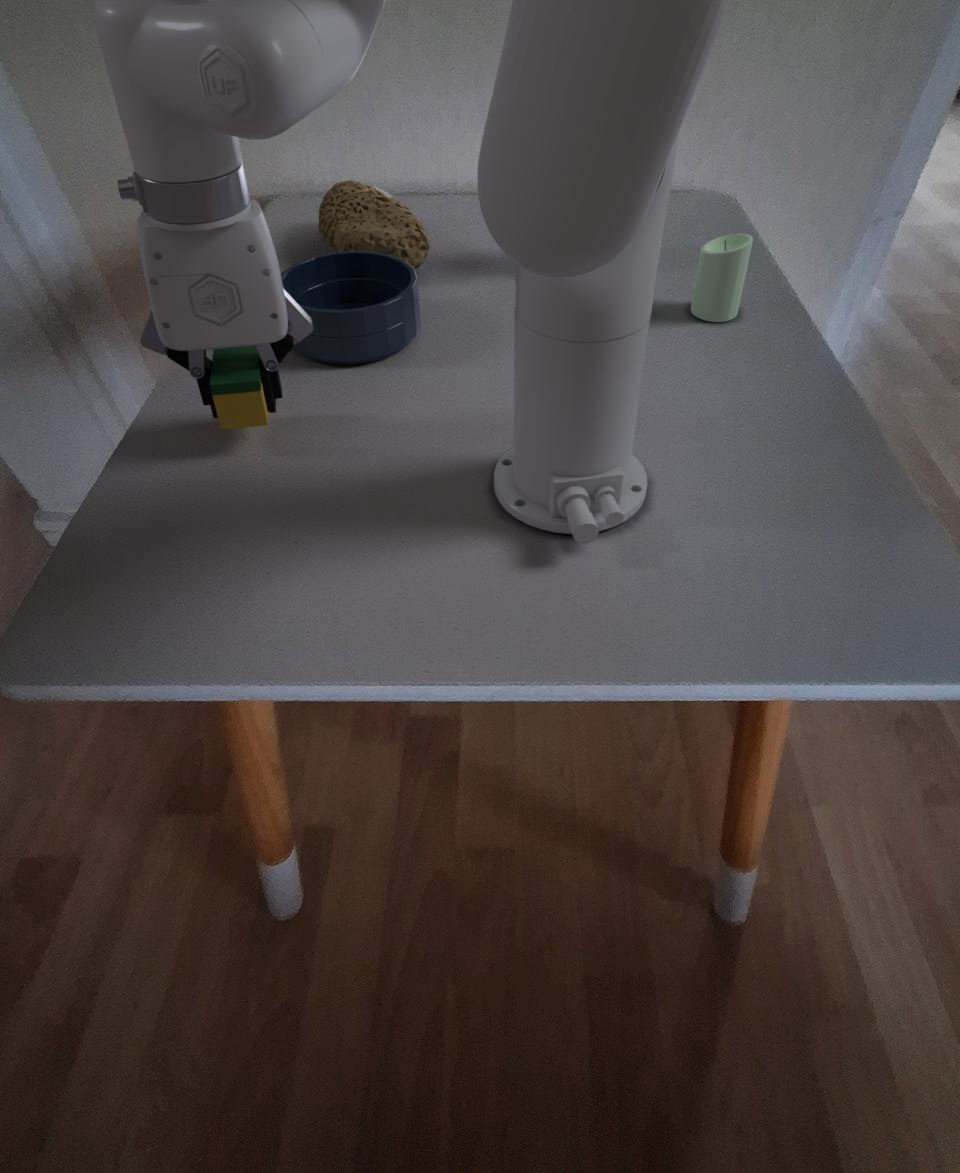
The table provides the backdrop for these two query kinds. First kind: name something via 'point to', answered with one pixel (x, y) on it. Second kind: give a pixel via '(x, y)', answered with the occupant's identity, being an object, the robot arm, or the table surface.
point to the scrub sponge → (238, 388)
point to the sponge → (371, 223)
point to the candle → (721, 277)
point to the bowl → (355, 305)
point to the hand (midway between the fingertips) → (245, 405)
